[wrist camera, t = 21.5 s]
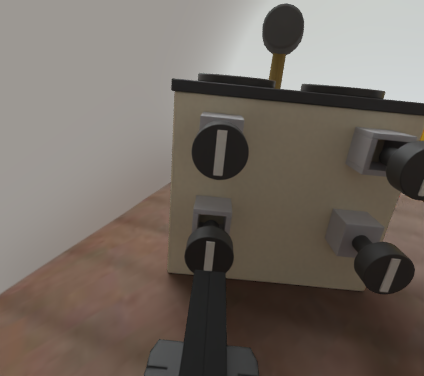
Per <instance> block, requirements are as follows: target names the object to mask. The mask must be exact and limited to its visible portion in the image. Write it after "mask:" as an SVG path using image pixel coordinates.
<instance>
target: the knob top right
mask: <svg viewBox="0 0 424 376" xmlns="http://www.w3.org/2000/svg"><path fill="white" fill-rule="evenodd" d="M379 160H380V162H381V163H382V164H383V165H385V166H387V167H386V177H387V180H388V182H389V183H390V185H391V186H392V187H394V188H395V189H397V190H398V191H400V192H402V193H403V194H405V195H407V196H408V197H410V198H412V199H415V200H424V141H414V142H410V143H407V144H405V145H403V146H402V147H400V148H399V149H396V148H394V147H388V148H385V149H384V150H382V151H381V153H380V155H379Z"/></svg>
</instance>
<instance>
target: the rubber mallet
mask: <svg viewBox="0 0 424 376" xmlns="http://www.w3.org/2000/svg"><path fill="white" fill-rule="evenodd" d="M303 30H304V20H303V16H302V13H301V12H300V10H299V9H298V8H297V7H295V6H294V5H291V4H280V5H278V6H276V7H274V8H273V9H272V10H271V11H270V12H269V13H268V14H267V16H266V18H265V20H264V23H263V41H264V45H265V46H266V48H267V49H268V50H269V51H270V52H271V53H272V54H273V58H272V64H271V70H270V76H269V80H274V81H276V84H275V88H274V89H280V87H281V81H282V75H283V69H284V62H285V56H286V55H287V54H290V53H291V52H292V51H293V50H294V49H296V47H297V46H298V44H299V43H300V42H301V39H302V36H303Z"/></svg>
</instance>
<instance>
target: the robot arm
mask: <svg viewBox="0 0 424 376" xmlns="http://www.w3.org/2000/svg"><path fill="white" fill-rule="evenodd" d="M144 376H259V371H258V363H257V360H256V358H255V356H254V354H253V352H252V350H251V348H248V347H238V346H228V345H227V332H226V273H224V272H214V271H204V270H195V271H194V278H193V284H192V291H191V298H190V304H189V311H188V318H187V324H186V331H185V338H184V342H181V341H171V340H161V339H159V340H158V342H157V343H156V344H155V346H154V347H153V348H152V350H151V351H150V355H149V359H148V362H147V367H146V370H145V373H144Z"/></svg>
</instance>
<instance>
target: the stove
mask: <svg viewBox="0 0 424 376" xmlns="http://www.w3.org/2000/svg"><path fill="white" fill-rule="evenodd" d="M275 84H276V81H274V80H267V79H259V78H250V77H241V76H230V75H219V74H205V73H199V74H198V81H193V80H184V79H172V88H171V90H172V91H175V96H174V120H173V145H172V169H171V193H170V217H169V241H168V266H167V272H168V273H178V274H189V275H194V273H193V272H191V271H190V270H189V268H188V267H187V265H186V263H185V259H184V255H185V249H186V245H187V240H188V238H189V236H190V235H191V233H192V232H193V231H195V230H196V229H198V228H200V227H203V225H204V223H205V222H206V221H208V220H214V221H216V222H217V223H218V224H219V228H221V229H223V230H224V231H226V232H227V233H228V234H229V236H230V237H231V239H232V242H233V253H234V261H233V264H232V266H231V268H230V269H229V271H228V272H226V278H230V279H241V280H251V281H261V282H272V283H282V284H293V285H303V286H313V287H324V288H334V289H345V290H355V291H364V290H365V287H367V288H368V289H369V290H370V291H372V292H374V293H377V294H392V293H395V292H398V291H400V290H402V289H403V288H405V287H406V286H407V285H408V284H409V283H410V282H411V280H412V279H413V276H414V272H415V269H414V265H413V263H412V261H411V260H410V259H409V258H408V257H407V256H406V255H405V254H404V253H403V252H401V251H400V250H399V249H398V248H397V247H396V246H395V245H393V244H391V243H387V242H382V241H383V238H384V236H385V233H386V230H387V228H388V225H389V222H390V219H391V217H392V214H393V211H394V208H395V206H396V203H397V200H398V198H399V195H400V191H398V190H397V189H395V188H394V187H392V186H391V185H390V183H389V182H388V180H387V177H386V167H387V166H385V165H383V164H382V163H381V162H380V160H379V155H380V153H381V151H382V150H384V149H385V148H388V147H394V148H396V149H399V148H400V147H402V146H403V145H405V144H407V143H410V142H414V141H419V140H420V138H421V135H422V132H423V130H424V103H415V102H405V101H395V100H384V99H383V98H384V95H385V91H379V90H370V89H361V88H351V87H340V86H328V85H314V84H302V86H301V91H294V90H284V89H274V88H275Z"/></svg>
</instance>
